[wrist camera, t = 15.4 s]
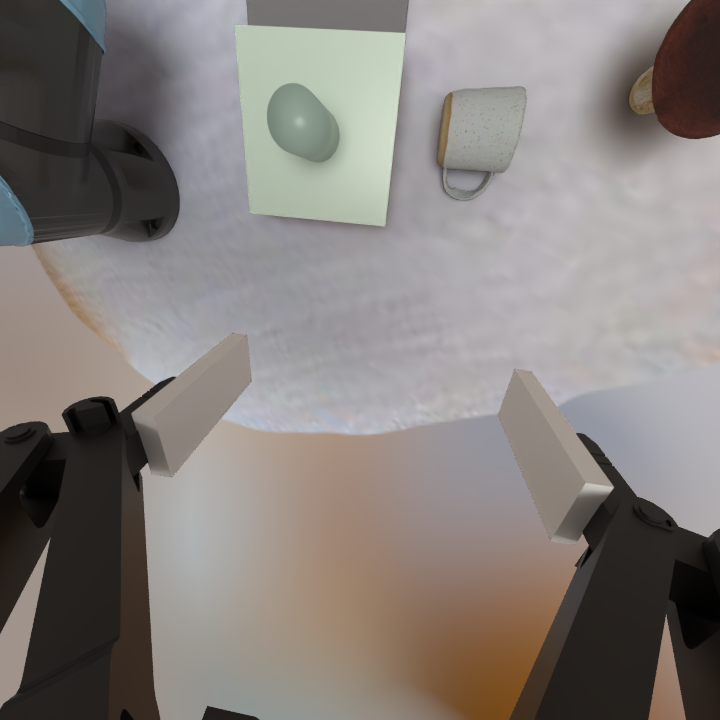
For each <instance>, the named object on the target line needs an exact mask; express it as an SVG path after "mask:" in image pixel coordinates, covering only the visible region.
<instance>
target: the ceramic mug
mask: <svg viewBox="0 0 720 720" xmlns="http://www.w3.org/2000/svg"><path fill="white" fill-rule="evenodd" d="M525 108H526V90H525V88H524V87H521V86H518V87H498V88H483V89H462V90H458V91H454V92H451V93H449V94H448V95H447V96H446V98H445V100H444V105H443V112H442V119H441V126H440V134H439V143H438V152H437V162H438V164H439V165H440V166H443V167H444V168H443V184H444V188H445V190H446V191H447V193H448V194H449V195H450V196H451V197H453V198H455V199H459V200H470V199H473V198H475V197H477V196H478V195H479V194H481V193H482V192H483V191H484V190H485V189H486V187H487V186H488V184H489V183H490V181H491V179H492V177H493V175H494V173H495V172H500V173H502V172H504V171H505V170H506V169H507V168H508V166H509V164H510V162H511V160H512V157H513V155H514V152H515V149H516V146H517V143H518V140H519V136H520V132H521V128H522V123H523V118H524V113H525ZM448 168H449V169H465V170H476V171H488V172H489V173H488V175H487V177H486V179H485V181H484V182H483V183H482V185H481V186H480V187H479V188H477V189H476V190H474V191H462V190H458V189H456V188H451V187H450V186H449V184H448V182H447V177H446V174H447V169H448Z"/></svg>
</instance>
